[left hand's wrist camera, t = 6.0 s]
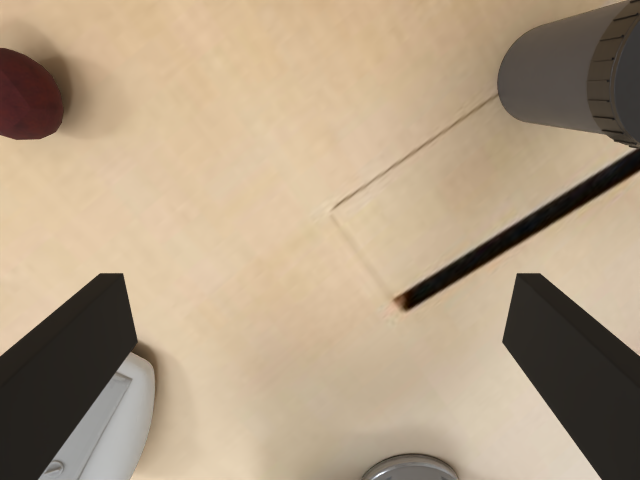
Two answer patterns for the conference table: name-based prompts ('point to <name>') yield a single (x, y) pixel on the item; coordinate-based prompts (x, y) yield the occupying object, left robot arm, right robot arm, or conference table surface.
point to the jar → (554, 71)
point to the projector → (110, 428)
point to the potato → (27, 98)
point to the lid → (617, 78)
